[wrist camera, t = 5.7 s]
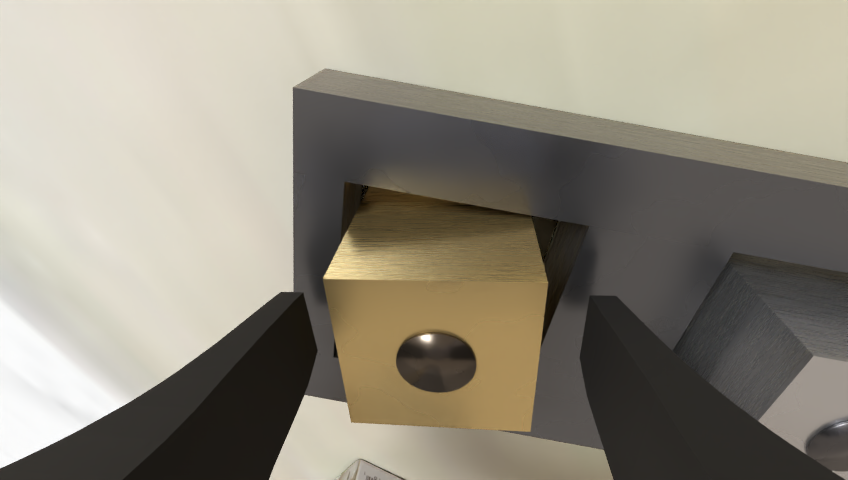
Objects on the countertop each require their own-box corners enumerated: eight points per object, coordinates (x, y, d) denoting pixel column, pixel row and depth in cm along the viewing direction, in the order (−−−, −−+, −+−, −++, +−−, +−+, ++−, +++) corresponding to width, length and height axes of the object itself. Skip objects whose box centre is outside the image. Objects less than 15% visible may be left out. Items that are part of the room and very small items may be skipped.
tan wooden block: (522, 181, 13) (548, 285, 8) (513, 303, 15) (531, 435, 11) (371, 182, 13) (321, 281, 9) (384, 300, 16) (350, 424, 11)
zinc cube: (851, 259, 13) (1042, 399, 9) (768, 365, 15) (885, 517, 11) (702, 232, 13) (816, 358, 9) (641, 342, 15) (707, 485, 11)
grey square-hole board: (998, 190, 11) (1113, 235, 9) (781, 427, 17) (824, 490, 15) (325, 68, 12) (293, 87, 10) (315, 342, 17) (293, 392, 15)
